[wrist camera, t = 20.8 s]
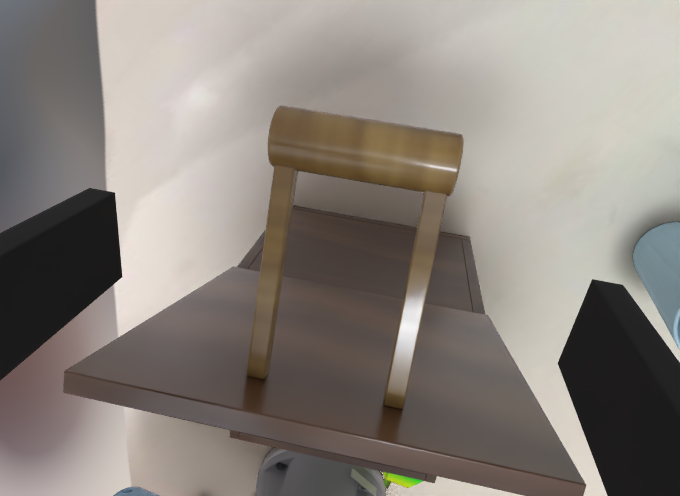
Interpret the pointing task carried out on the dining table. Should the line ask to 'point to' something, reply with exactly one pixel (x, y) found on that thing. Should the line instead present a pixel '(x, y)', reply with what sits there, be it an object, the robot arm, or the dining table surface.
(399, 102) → the dining table surface
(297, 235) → the bin
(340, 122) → the lid
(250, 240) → the dining table surface
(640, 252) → the cup
